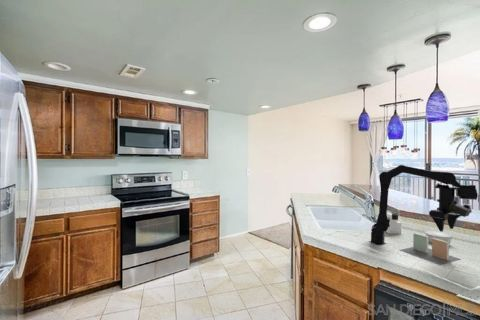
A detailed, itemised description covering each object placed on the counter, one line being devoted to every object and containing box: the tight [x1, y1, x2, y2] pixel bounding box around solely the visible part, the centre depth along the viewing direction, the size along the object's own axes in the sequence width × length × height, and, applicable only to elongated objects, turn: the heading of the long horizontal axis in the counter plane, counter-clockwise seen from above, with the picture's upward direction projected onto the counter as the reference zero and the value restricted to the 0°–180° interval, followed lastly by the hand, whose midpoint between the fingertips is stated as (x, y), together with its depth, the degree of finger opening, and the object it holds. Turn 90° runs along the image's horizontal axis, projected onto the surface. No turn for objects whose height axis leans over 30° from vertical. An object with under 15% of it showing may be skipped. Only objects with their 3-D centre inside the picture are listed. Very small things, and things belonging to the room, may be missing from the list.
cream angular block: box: [431, 238, 450, 260], centre depth 112 cm, size 2×6×8 cm, turn 22°
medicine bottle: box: [385, 212, 402, 235], centre depth 149 cm, size 7×7×12 cm
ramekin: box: [424, 230, 453, 246], centre depth 131 cm, size 11×11×5 cm
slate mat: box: [399, 246, 462, 266], centre depth 115 cm, size 16×18×1 cm
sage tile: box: [412, 232, 429, 253], centre depth 119 cm, size 2×6×8 cm, turn 22°
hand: (446, 230), depth 115 cm, fingers open, 9 cm apart
